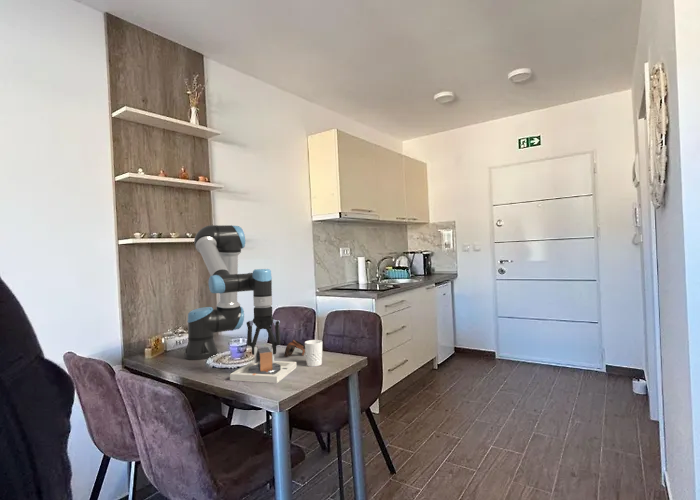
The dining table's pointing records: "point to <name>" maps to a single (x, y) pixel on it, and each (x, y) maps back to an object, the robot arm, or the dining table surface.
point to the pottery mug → (292, 345)
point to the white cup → (313, 352)
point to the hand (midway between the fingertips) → (264, 362)
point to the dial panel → (244, 375)
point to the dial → (264, 363)
